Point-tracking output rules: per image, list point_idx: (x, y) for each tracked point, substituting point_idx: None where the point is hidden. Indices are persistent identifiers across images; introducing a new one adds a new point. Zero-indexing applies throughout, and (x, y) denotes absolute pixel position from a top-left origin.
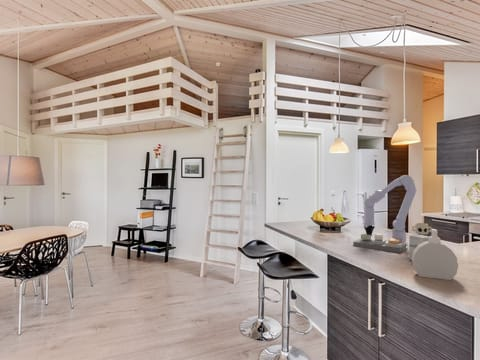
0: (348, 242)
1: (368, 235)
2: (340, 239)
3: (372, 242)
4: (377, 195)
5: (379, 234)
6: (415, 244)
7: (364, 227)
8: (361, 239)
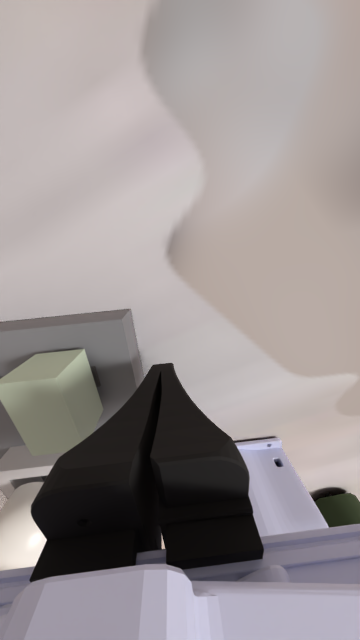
0: (5, 233)
1: (31, 451)
2: (52, 52)
3: (7, 458)
4: None
5: (22, 567)
6: None
7: (52, 475)
8: (63, 345)
